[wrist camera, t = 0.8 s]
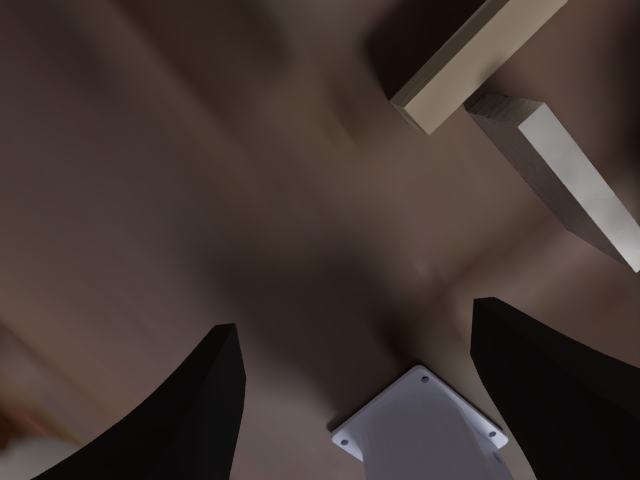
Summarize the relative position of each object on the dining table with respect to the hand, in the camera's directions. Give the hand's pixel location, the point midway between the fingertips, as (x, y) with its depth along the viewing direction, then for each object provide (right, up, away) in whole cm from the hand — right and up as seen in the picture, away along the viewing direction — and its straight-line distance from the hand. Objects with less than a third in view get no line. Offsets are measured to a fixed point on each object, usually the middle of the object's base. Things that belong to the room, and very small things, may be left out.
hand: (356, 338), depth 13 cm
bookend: (+10, +7, +9) cm, 15 cm away
